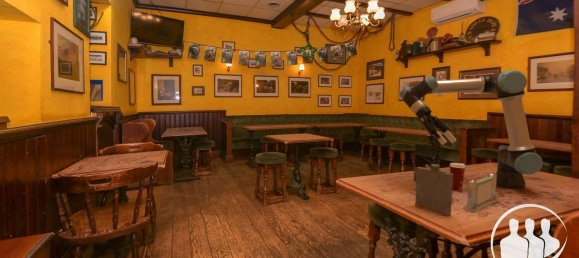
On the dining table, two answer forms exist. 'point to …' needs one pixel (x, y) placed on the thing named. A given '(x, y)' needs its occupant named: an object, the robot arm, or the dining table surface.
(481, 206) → the gate frame
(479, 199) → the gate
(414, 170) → the grey flat container
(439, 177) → the hip flask
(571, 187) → the dining table surface
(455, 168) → the paper cup
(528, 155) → the robot arm
